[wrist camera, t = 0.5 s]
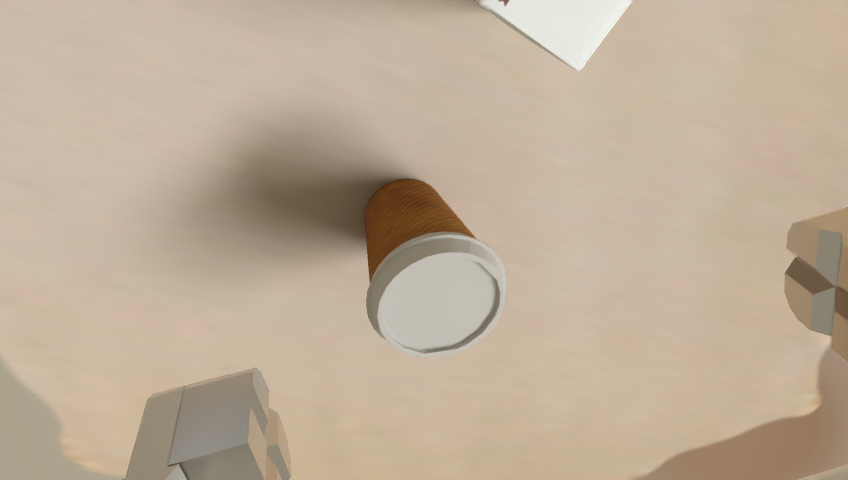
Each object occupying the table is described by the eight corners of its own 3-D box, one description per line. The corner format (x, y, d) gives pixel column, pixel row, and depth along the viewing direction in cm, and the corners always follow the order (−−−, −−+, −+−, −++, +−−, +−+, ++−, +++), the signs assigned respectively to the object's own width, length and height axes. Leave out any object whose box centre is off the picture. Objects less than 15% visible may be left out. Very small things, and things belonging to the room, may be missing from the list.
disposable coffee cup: (322, 242, 54) (343, 342, 44) (381, 140, 50) (418, 224, 40) (423, 278, 58) (463, 377, 48) (484, 187, 54) (540, 273, 45)
